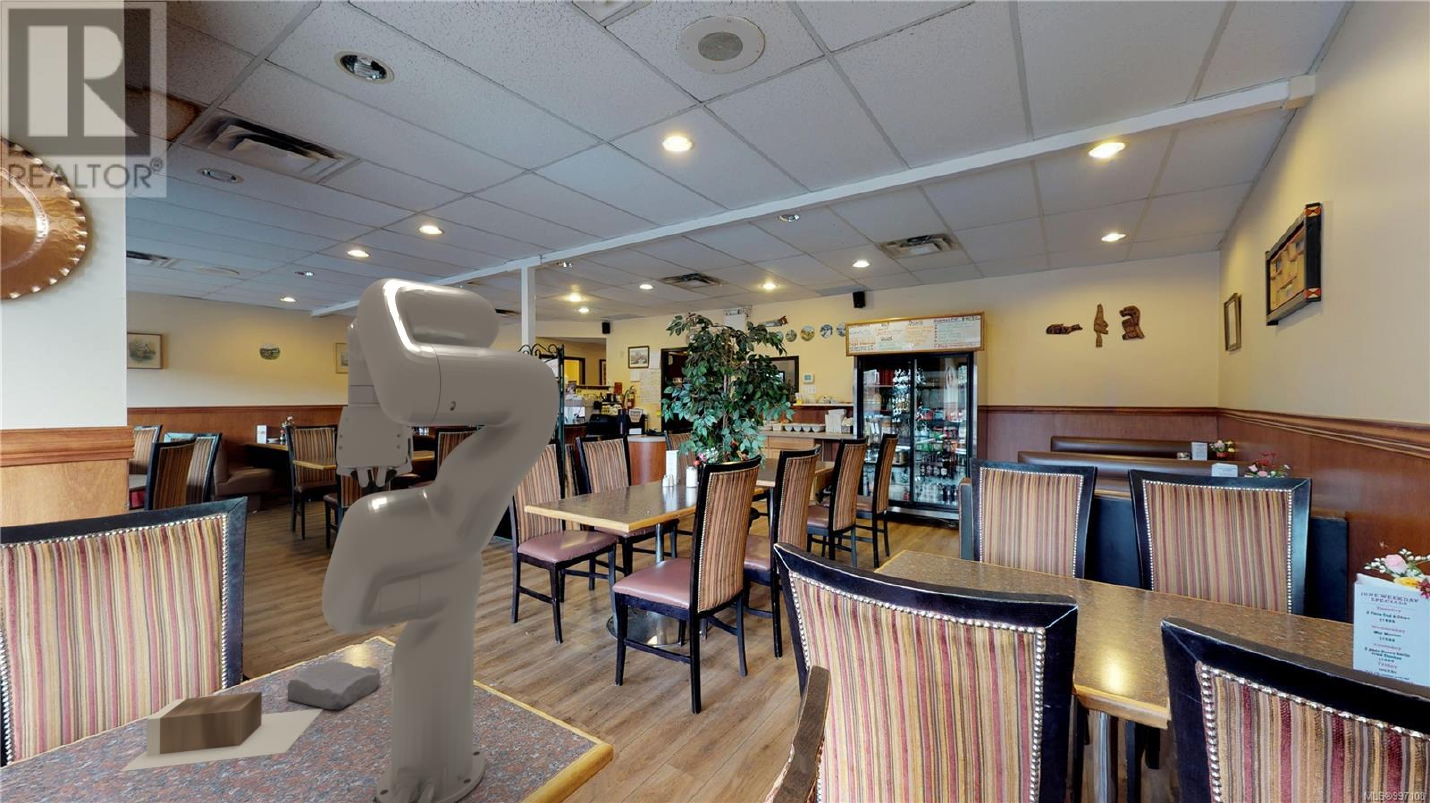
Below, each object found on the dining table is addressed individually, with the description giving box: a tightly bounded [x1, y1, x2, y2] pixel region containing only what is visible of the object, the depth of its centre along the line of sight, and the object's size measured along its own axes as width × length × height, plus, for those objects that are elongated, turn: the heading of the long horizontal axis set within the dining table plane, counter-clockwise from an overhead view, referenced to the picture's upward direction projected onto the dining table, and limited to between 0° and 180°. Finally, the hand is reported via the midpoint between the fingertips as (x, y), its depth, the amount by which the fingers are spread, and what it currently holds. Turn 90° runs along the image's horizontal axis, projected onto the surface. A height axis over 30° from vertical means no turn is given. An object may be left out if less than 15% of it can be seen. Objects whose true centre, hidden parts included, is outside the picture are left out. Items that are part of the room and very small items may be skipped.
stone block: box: [286, 660, 381, 711], centre depth 90 cm, size 12×5×10 cm
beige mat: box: [118, 708, 325, 773], centre depth 78 cm, size 11×19×1 cm, turn 102°
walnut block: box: [146, 691, 263, 756], centre depth 77 cm, size 5×5×11 cm
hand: (374, 509), depth 88 cm, fingers closed
